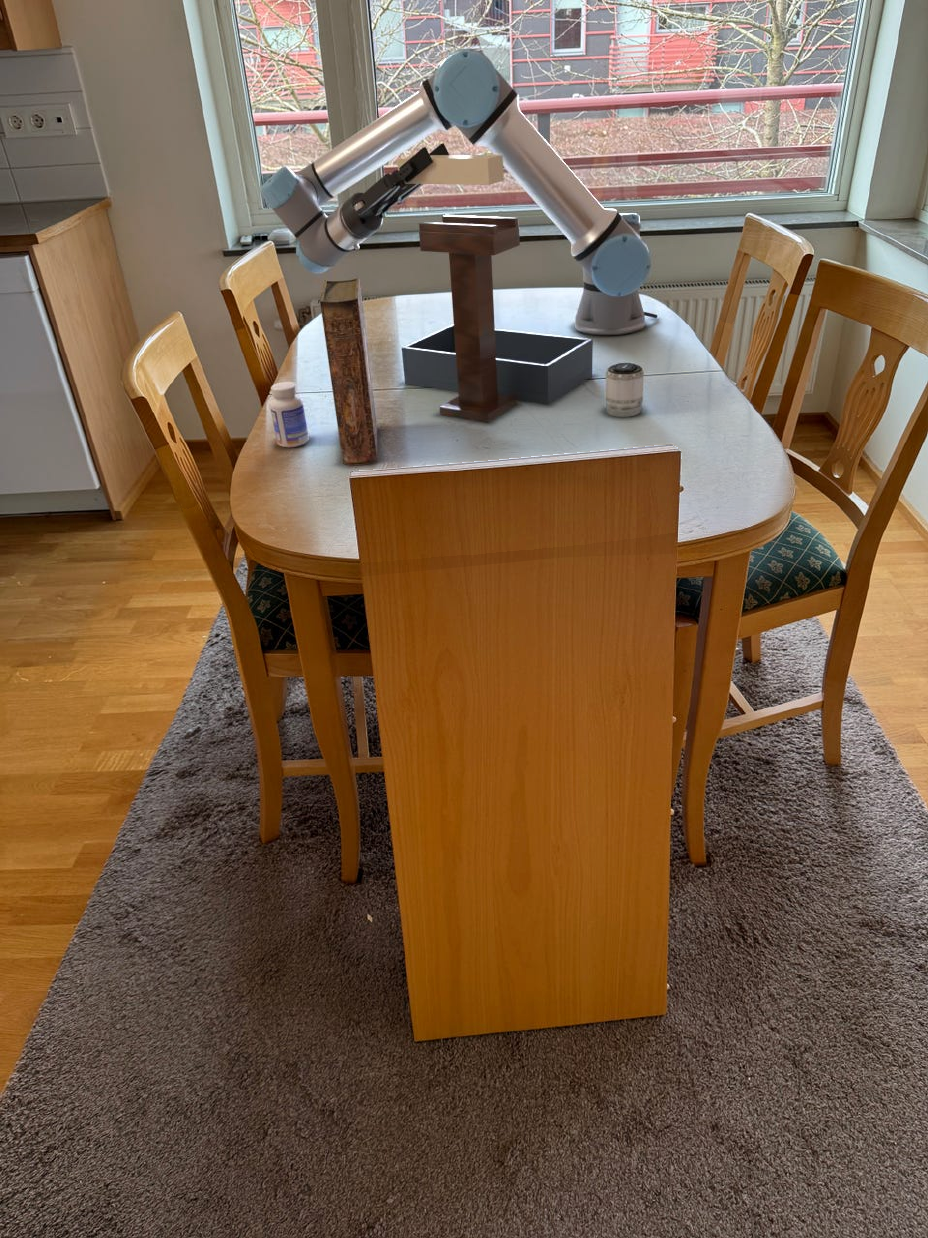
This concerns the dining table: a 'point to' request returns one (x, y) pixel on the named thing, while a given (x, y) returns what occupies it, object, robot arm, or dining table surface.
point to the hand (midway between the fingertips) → (437, 152)
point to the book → (350, 370)
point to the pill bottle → (288, 415)
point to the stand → (473, 307)
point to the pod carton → (459, 170)
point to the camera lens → (624, 389)
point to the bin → (506, 363)
